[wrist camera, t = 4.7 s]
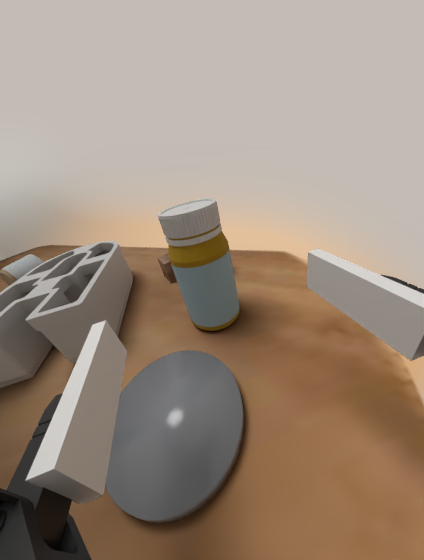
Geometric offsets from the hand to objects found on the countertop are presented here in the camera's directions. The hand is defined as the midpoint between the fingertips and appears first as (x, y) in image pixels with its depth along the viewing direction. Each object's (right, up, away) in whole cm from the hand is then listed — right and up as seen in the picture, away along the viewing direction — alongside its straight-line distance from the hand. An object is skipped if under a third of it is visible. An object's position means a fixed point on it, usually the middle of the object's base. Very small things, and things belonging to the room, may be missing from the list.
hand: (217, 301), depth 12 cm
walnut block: (-8, +2, +28) cm, 29 cm away
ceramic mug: (-49, 0, +42) cm, 64 cm away
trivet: (-4, -11, +5) cm, 12 cm away
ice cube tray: (-24, -4, +25) cm, 34 cm away
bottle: (0, -4, +15) cm, 16 cm away
